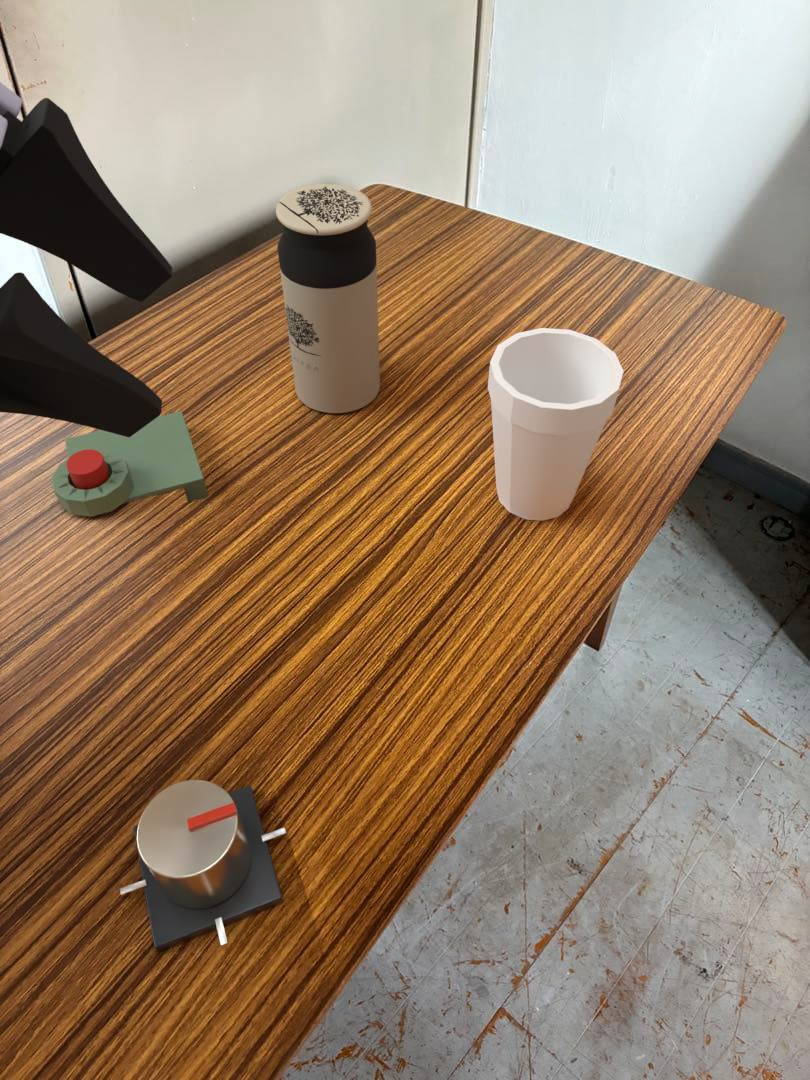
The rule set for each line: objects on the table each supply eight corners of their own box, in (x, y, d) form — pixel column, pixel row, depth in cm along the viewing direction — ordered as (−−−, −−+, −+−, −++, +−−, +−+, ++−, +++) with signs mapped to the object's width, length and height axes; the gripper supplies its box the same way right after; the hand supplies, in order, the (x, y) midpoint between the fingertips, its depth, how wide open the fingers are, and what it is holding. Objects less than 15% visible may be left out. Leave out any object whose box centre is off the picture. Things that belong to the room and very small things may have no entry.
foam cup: (609, 481, 69) (643, 355, 59) (562, 551, 64) (591, 426, 54) (509, 440, 72) (526, 314, 63) (457, 504, 67) (466, 378, 57)
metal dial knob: (167, 924, 44) (143, 892, 40) (150, 834, 47) (127, 796, 43) (262, 887, 45) (248, 853, 41) (239, 802, 48) (224, 763, 44)
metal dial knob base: (146, 992, 44) (134, 980, 42) (119, 831, 50) (107, 813, 48) (313, 924, 46) (309, 909, 44) (269, 777, 52) (264, 759, 50)
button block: (72, 542, 65) (56, 508, 62) (59, 460, 71) (43, 426, 68) (211, 505, 67) (202, 470, 64) (186, 429, 73) (177, 394, 70)
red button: (75, 494, 63) (68, 478, 62) (71, 470, 65) (64, 454, 63) (112, 484, 64) (105, 468, 62) (106, 461, 65) (100, 445, 64)
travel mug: (356, 353, 81) (346, 173, 67) (395, 399, 76) (393, 215, 62) (282, 378, 78) (256, 196, 64) (317, 426, 74) (298, 241, 60)
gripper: (-268, 157, 18) (213, 441, 27) (-111, -115, 26) (221, 180, 35) (-375, 325, 21) (87, 526, 31) (-208, 40, 29) (119, 271, 38)
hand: (151, 348), depth 33 cm, fingers open, 7 cm apart
